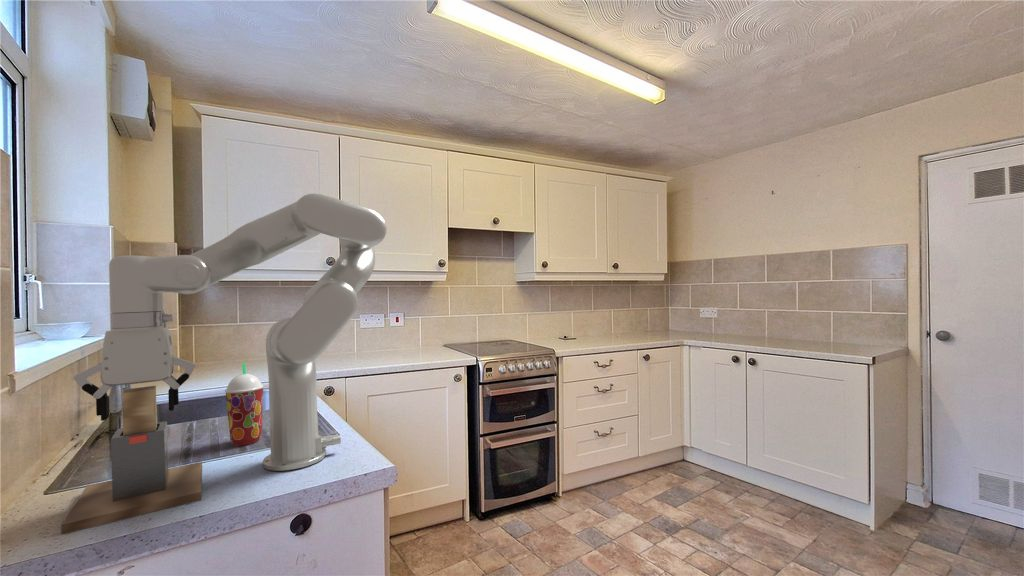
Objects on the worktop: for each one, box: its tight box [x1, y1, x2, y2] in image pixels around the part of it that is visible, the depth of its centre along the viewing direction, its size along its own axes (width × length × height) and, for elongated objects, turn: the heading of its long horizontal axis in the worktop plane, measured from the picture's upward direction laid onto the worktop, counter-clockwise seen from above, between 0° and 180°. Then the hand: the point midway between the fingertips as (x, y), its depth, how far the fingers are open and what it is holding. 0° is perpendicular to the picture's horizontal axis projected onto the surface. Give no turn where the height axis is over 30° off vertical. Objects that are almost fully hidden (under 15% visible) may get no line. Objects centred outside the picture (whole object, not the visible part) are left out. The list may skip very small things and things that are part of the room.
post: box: [121, 385, 158, 435], centre depth 82 cm, size 5×5×18 cm
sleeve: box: [110, 420, 169, 502], centre depth 82 cm, size 7×8×11 cm
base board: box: [60, 461, 203, 535], centre depth 82 cm, size 18×18×2 cm
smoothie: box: [224, 362, 265, 447], centre depth 111 cm, size 8×8×20 cm
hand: (139, 413), depth 82 cm, fingers open, 9 cm apart
